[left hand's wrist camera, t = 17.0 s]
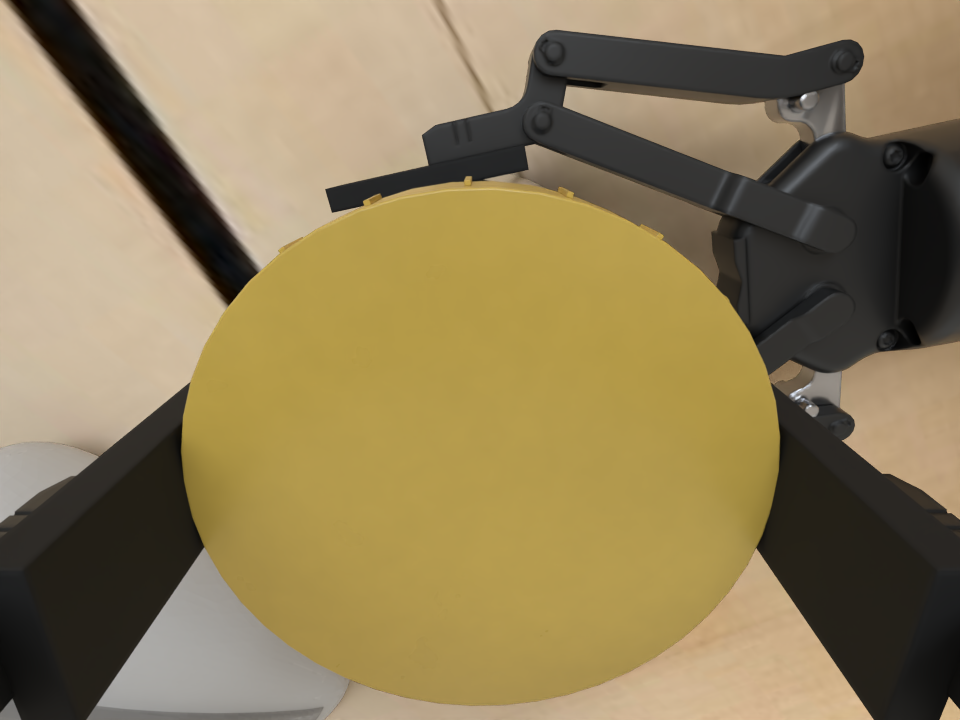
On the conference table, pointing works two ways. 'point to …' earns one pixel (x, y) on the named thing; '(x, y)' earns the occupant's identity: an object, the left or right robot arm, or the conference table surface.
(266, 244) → the conference table surface
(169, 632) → the projector
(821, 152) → the right robot arm
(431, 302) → the lid
